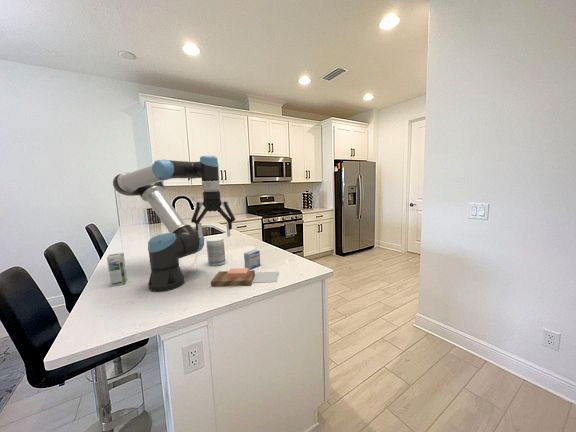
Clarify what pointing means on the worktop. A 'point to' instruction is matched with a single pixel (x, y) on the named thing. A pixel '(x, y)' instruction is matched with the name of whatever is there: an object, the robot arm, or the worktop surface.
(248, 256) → the medicine box
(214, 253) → the supplement tub
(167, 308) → the worktop surface
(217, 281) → the deck
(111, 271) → the syrup box
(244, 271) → the card
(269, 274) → the mat
